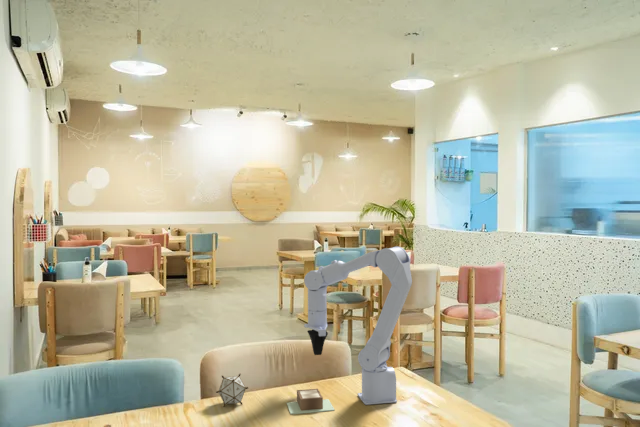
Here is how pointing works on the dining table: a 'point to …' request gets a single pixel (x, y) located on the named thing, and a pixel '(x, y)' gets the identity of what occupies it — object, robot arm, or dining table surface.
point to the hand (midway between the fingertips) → (317, 354)
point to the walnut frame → (309, 399)
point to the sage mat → (296, 409)
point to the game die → (232, 390)
